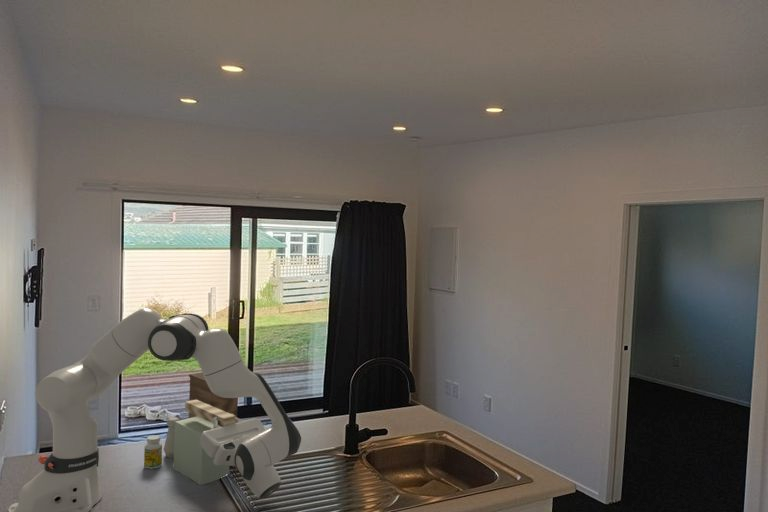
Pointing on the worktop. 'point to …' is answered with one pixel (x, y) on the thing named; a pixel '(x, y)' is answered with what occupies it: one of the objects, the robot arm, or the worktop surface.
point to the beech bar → (209, 412)
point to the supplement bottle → (153, 452)
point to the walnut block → (209, 395)
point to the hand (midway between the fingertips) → (222, 417)
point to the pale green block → (195, 452)
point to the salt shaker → (170, 437)
